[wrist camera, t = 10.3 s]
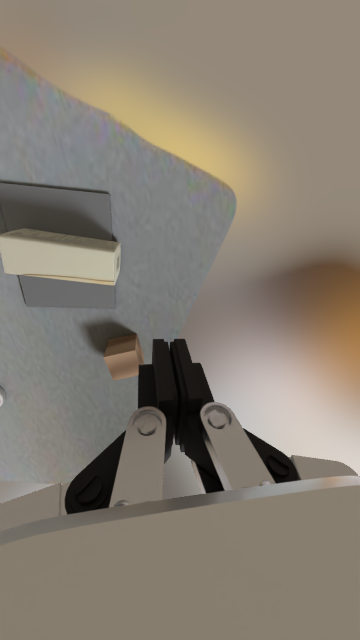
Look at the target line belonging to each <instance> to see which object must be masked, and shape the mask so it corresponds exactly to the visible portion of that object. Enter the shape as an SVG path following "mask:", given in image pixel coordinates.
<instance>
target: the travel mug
mask: <svg viewBox="0 0 360 640" xmlns="http://www.w3.org/2000/svg"><path fill="white" fill-rule="evenodd" d="M5 399H6V393H5V391H4V390H3V388H2V387H0V406H1V405H2V403H3V402H4V401H5Z"/></svg>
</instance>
